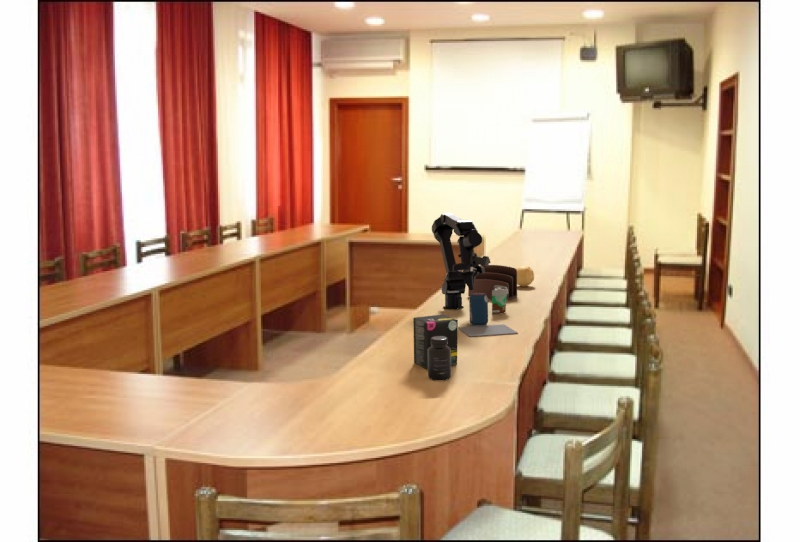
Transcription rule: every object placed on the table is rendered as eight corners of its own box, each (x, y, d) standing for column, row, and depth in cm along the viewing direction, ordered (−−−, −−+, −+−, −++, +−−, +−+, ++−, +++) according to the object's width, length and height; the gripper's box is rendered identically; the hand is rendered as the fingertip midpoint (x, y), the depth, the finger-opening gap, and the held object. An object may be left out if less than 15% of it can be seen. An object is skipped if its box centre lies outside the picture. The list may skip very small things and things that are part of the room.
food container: (507, 315, 305) (507, 290, 304) (491, 315, 307) (491, 290, 305) (509, 309, 317) (509, 285, 316) (494, 308, 319) (494, 285, 317)
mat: (458, 328, 284) (458, 327, 284) (504, 325, 288) (504, 324, 288) (469, 337, 271) (469, 336, 271) (517, 333, 275) (517, 332, 275)
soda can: (491, 324, 289) (491, 292, 288) (480, 326, 284) (480, 294, 283) (477, 322, 293) (476, 291, 292) (466, 325, 288) (465, 293, 287)
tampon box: (427, 370, 230) (427, 323, 228) (412, 363, 239) (412, 317, 236) (458, 365, 235) (458, 318, 233) (443, 358, 244) (442, 313, 241)
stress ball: (511, 288, 370) (516, 277, 361) (511, 271, 375) (516, 260, 367) (531, 291, 370) (536, 281, 362) (531, 274, 376) (536, 263, 367)
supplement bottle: (426, 374, 226) (426, 335, 224) (449, 373, 227) (449, 334, 225) (429, 381, 219) (428, 340, 218) (452, 380, 220) (452, 340, 218)
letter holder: (477, 293, 354) (477, 263, 352) (517, 297, 344) (517, 266, 341) (467, 297, 346) (467, 266, 343) (508, 301, 335) (508, 269, 333)
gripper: (476, 245, 291) (481, 285, 289) (494, 250, 307) (499, 288, 305) (449, 250, 296) (454, 290, 294) (469, 255, 312) (473, 293, 310)
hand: (471, 290), depth 300 cm, fingers closed
